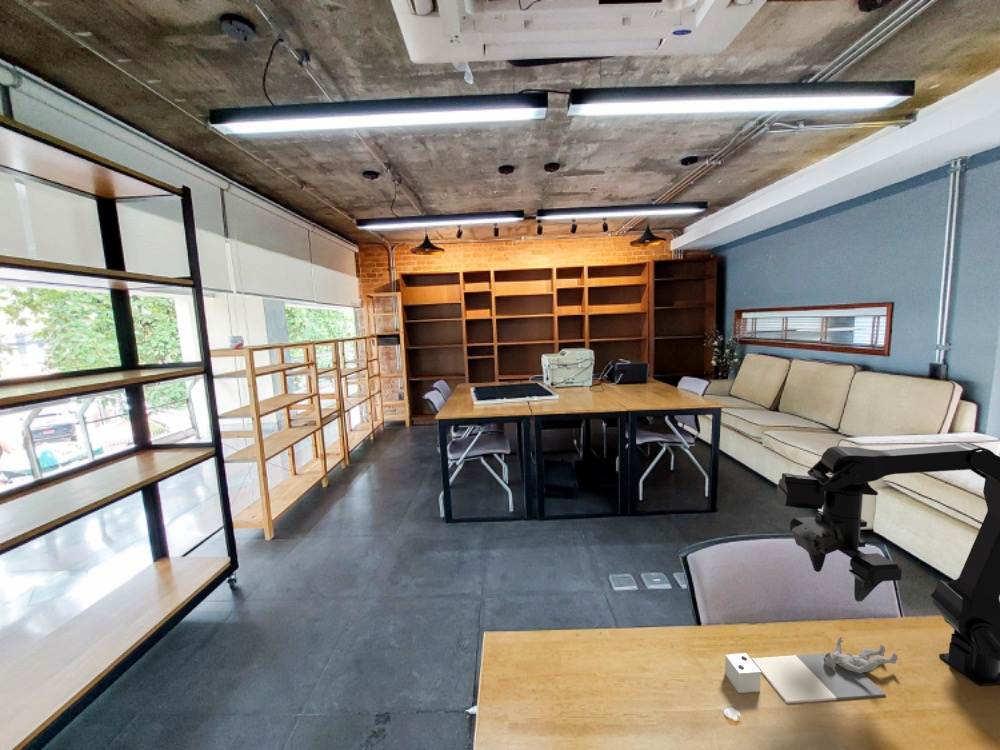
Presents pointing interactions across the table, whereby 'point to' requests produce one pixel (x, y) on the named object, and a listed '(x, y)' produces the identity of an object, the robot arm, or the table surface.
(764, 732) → the table surface
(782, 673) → the board
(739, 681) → the die
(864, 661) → the soldier figure
